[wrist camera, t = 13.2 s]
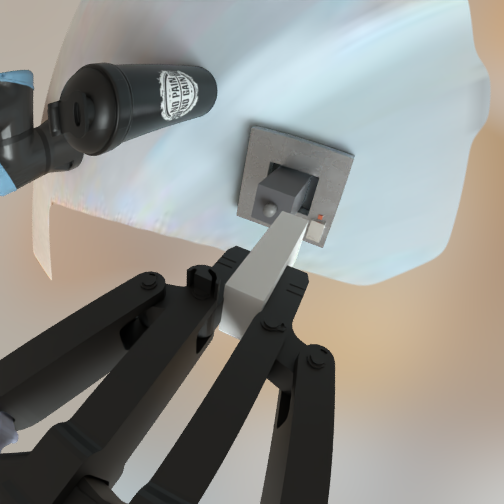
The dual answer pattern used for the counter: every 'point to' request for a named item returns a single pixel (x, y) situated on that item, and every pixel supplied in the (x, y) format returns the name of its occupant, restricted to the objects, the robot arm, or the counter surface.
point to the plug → (280, 194)
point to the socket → (302, 159)
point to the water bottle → (128, 103)
